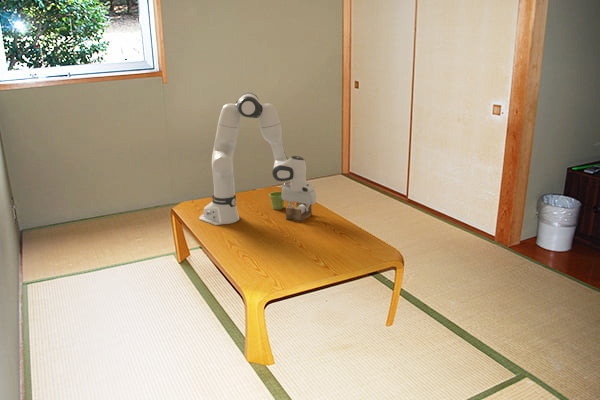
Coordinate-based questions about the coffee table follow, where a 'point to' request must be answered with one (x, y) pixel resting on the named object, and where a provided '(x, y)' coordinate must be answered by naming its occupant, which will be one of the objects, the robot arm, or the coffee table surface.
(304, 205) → the paper roll
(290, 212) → the walnut cradle
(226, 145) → the robot arm
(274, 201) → the plant pot
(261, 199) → the coffee table surface
